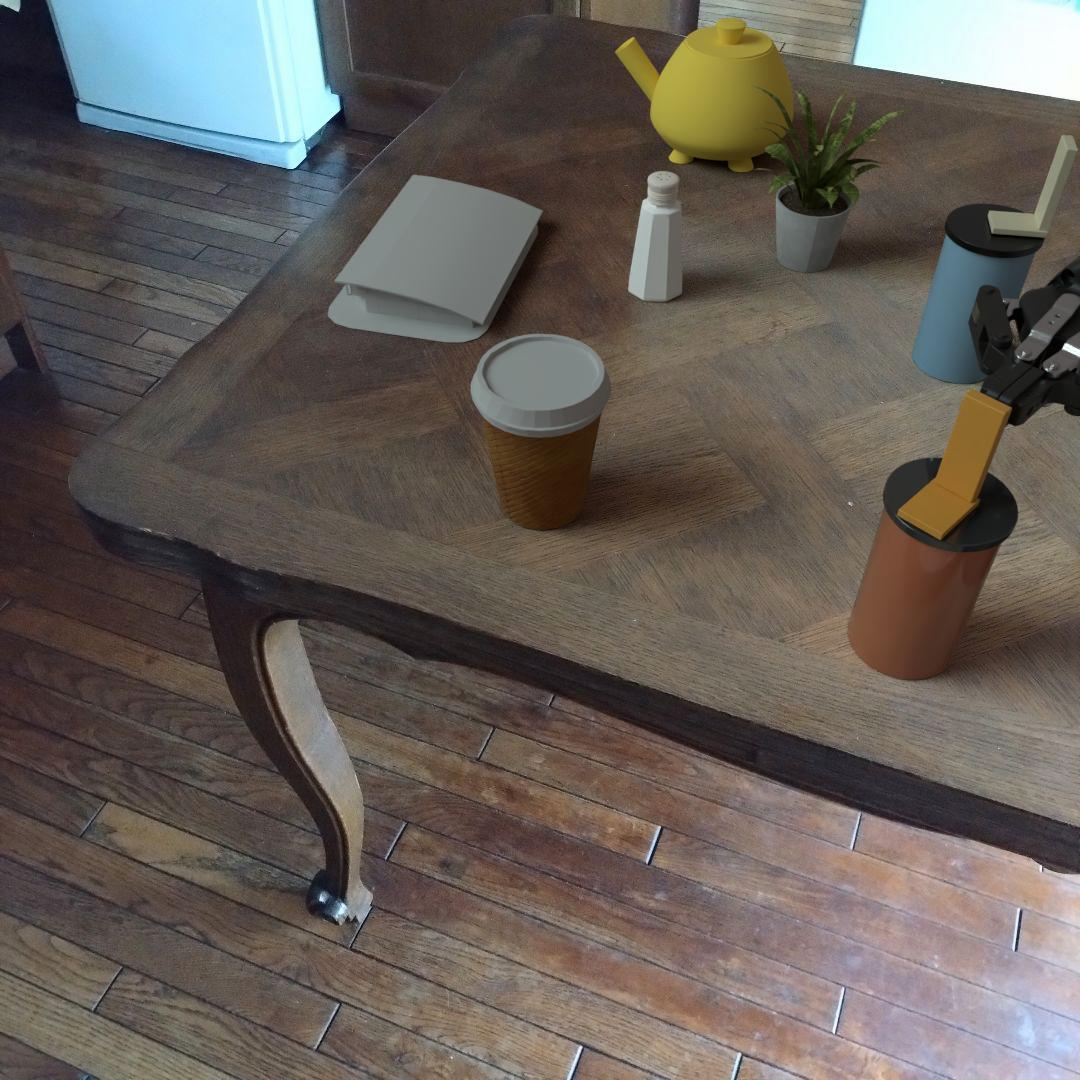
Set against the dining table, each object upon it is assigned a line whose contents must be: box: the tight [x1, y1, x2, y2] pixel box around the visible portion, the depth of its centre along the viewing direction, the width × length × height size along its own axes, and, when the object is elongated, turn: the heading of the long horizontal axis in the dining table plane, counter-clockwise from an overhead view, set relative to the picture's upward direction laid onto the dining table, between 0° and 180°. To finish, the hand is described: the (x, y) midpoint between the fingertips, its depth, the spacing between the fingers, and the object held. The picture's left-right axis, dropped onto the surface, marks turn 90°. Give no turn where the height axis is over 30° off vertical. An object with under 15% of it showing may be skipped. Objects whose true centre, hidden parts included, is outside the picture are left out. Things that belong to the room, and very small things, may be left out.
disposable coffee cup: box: [470, 333, 612, 531], centre depth 75 cm, size 10×10×12 cm
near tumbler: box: [847, 456, 1019, 681], centre depth 65 cm, size 7×7×13 cm
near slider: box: [897, 388, 1012, 540], centre depth 58 cm, size 4×3×7 cm
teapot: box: [614, 17, 795, 173], centre depth 115 cm, size 20×16×14 cm
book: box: [327, 174, 544, 344], centre depth 101 cm, size 15×23×4 cm, turn 165°
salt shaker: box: [627, 170, 683, 303], centre depth 96 cm, size 5×5×11 cm
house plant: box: [751, 85, 908, 273], centre depth 97 cm, size 14×14×16 cm
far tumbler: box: [911, 203, 1046, 385], centre depth 87 cm, size 7×7×13 cm
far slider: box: [988, 134, 1079, 239], centre depth 80 cm, size 4×3×7 cm
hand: (993, 411), depth 58 cm, fingers closed
